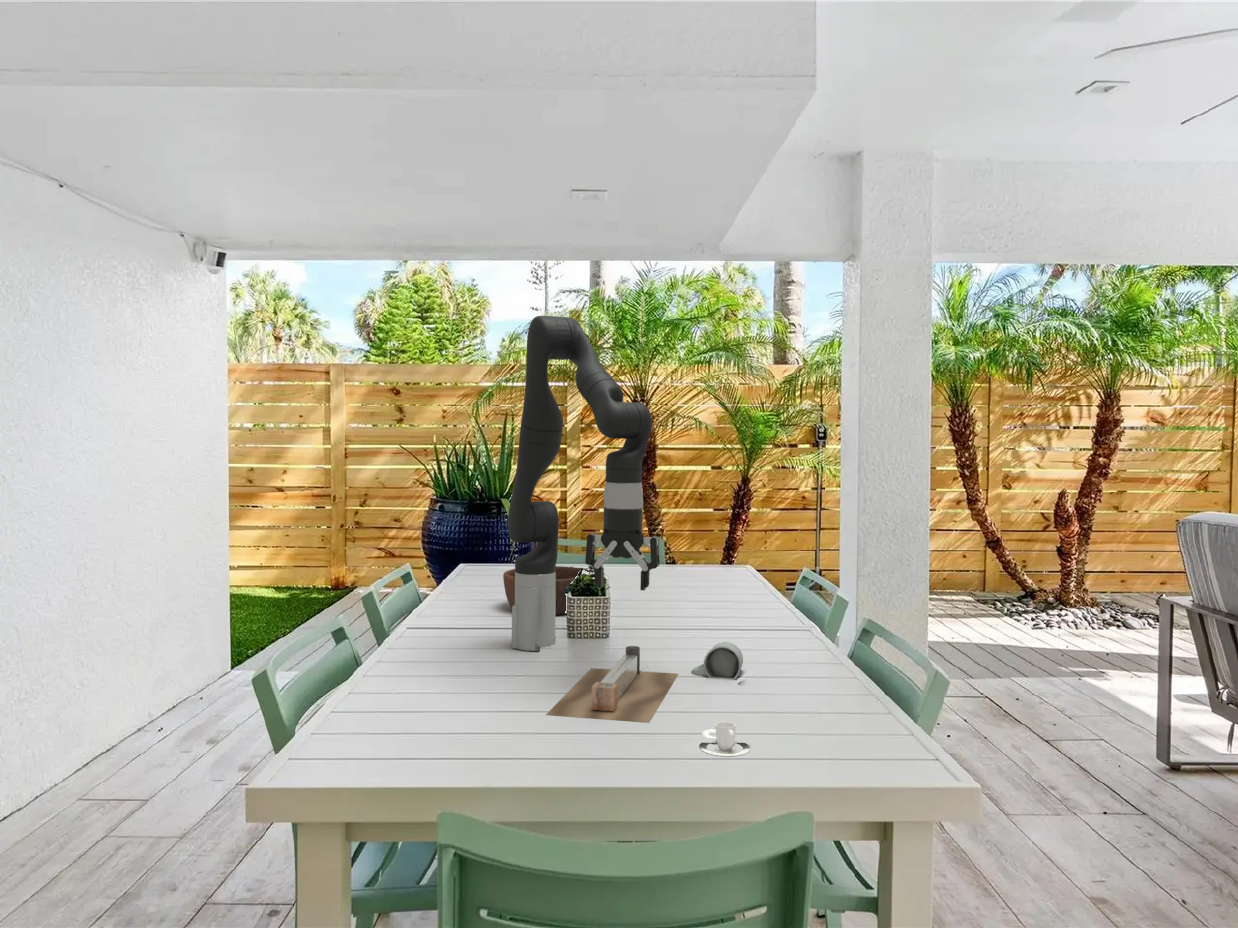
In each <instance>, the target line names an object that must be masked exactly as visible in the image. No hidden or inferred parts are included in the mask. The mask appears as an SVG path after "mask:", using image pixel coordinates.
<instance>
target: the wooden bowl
mask: <svg viewBox="0 0 1238 928" xmlns="http://www.w3.org/2000/svg"><path fill="white" fill-rule="evenodd" d="M581 569H584V570H585V571H587V572H589V570H590V569H587V568H581V567H573V566H561V565H559V566H557V565H556V571H555V572H556V584H555V585H556V609H555V616H562V615H563V616H565V611H566V595H565V593H564V592H563V590H564V589H565V588H566V587H567V586H568V585H569V584H570V583H571V582H572V581H573V580H574V579H575V577H576V576H577V574H578V572H579V571H580V570H581ZM502 578H503V585H504V592H505V596H506V600H507V602H508V604H509V606H510V608H511V609H512V606H514V605H515V568H512V569H509V570H506V571H505V572H503V575H502Z"/></svg>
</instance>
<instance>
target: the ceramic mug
mask: <svg viewBox="0 0 1238 928" xmlns="http://www.w3.org/2000/svg"><path fill="white" fill-rule="evenodd" d="M743 663H744V657H743V653H742V651H741V649H740V648H739V647H738V646H737V645H735V644H734V643H732V642H730V641H729V642H728V641H721V642H718V643H716V644H715V645H713V647H712V648H711V649H709V651H708V652H706V655H705V656H704V660H703V663H702V664H700V665H698V666H696V667H694V668H693V669H691V671H690V673H691V674H693V675H696V676H700V677H703V676H707V677H708V678H709V679H712V676H713V675H715V676H718V677H725V678H732V680H736V679H737V678H738V677H739V675H740V673H741V670H742V667H743Z"/></svg>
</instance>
